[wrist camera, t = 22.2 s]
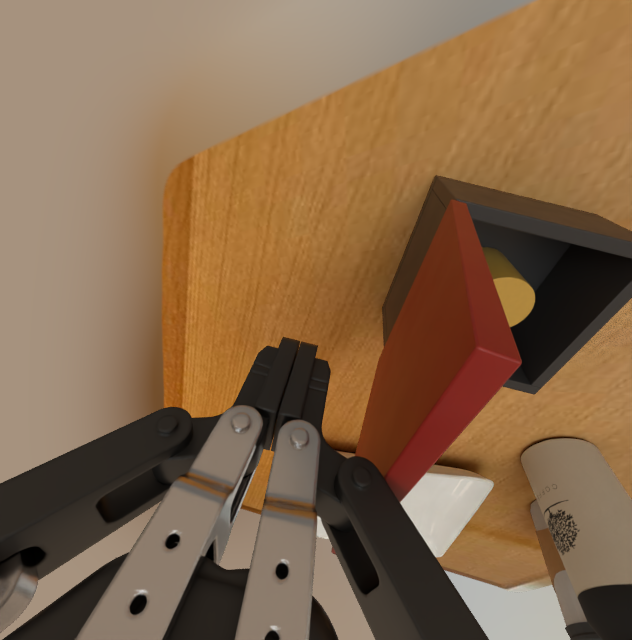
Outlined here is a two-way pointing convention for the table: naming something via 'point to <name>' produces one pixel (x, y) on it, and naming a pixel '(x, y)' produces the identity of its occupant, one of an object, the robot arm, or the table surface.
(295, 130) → the table surface
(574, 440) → the travel mug
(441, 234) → the box lid
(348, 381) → the table surface
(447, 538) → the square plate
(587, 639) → the coffee cup
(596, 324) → the open box
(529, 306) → the mustard yellow cylinder
